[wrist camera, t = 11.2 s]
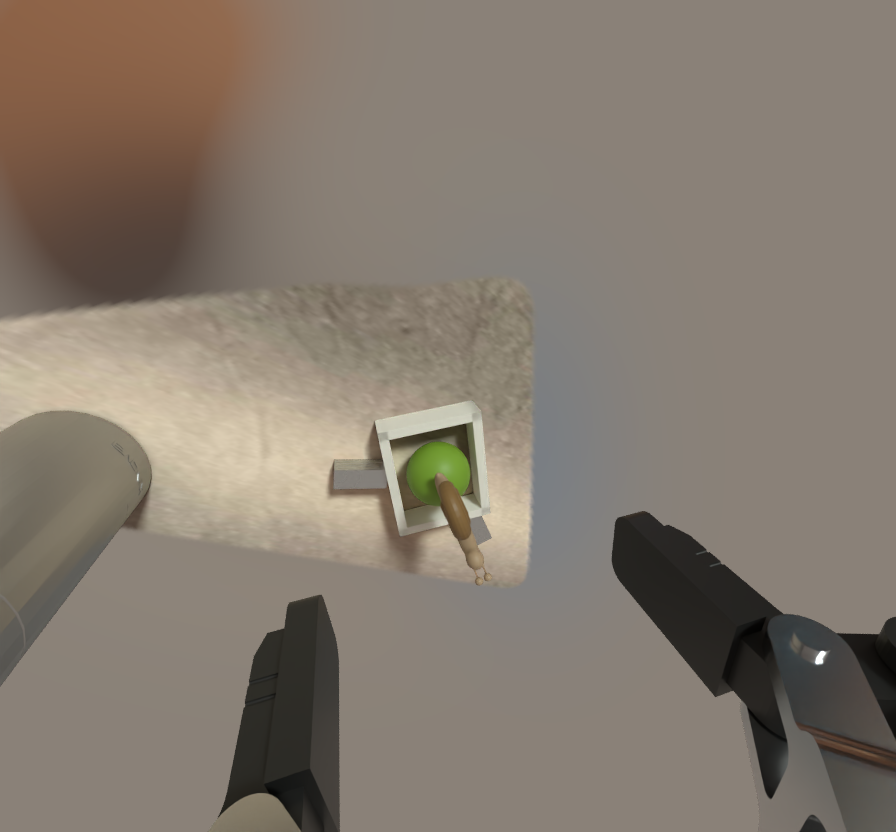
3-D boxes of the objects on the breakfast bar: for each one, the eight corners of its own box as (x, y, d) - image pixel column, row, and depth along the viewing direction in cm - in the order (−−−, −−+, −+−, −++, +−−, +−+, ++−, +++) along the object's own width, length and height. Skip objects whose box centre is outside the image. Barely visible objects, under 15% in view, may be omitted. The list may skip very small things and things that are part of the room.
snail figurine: (419, 500, 38) (449, 601, 28) (392, 446, 35) (415, 537, 25) (471, 476, 39) (521, 568, 28) (449, 421, 36) (495, 500, 25)
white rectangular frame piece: (358, 563, 40) (359, 583, 37) (320, 431, 33) (319, 445, 31) (486, 529, 42) (494, 546, 40) (473, 400, 35) (482, 410, 33)
